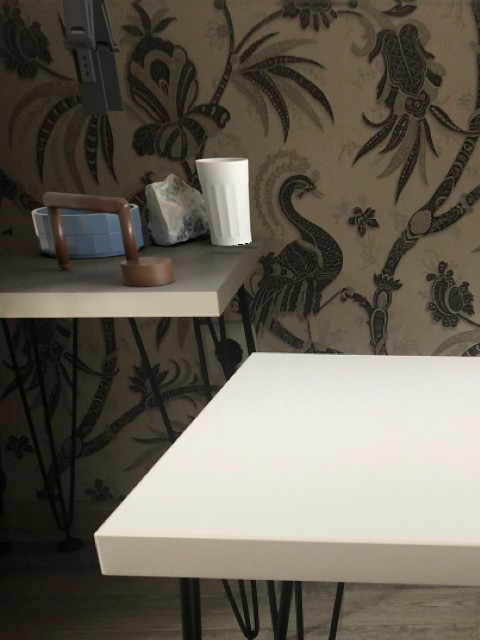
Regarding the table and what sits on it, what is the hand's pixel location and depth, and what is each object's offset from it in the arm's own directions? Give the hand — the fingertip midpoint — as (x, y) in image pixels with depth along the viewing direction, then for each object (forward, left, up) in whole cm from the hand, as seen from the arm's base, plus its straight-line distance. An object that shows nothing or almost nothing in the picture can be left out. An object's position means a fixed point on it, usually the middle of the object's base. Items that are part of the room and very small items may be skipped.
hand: (105, 113), depth 114 cm
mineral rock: (+6, +29, -20) cm, 35 cm away
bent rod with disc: (-3, 0, -19) cm, 20 cm away
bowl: (-8, +23, -19) cm, 31 cm away
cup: (+13, +25, -20) cm, 34 cm away
